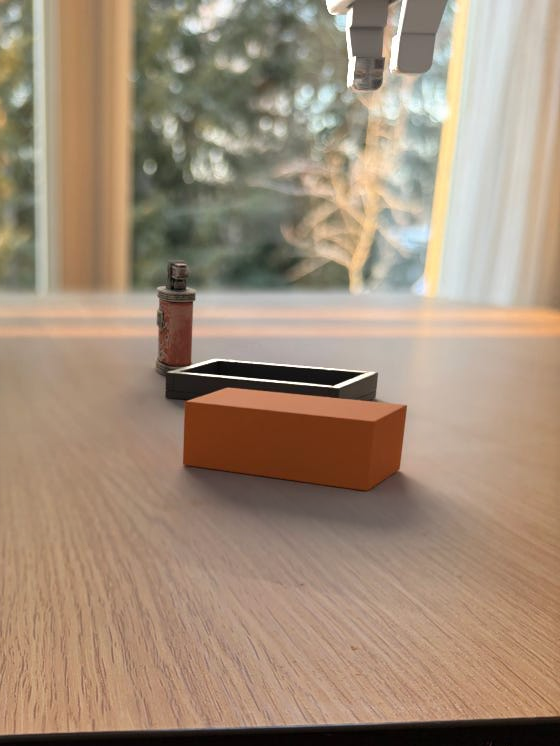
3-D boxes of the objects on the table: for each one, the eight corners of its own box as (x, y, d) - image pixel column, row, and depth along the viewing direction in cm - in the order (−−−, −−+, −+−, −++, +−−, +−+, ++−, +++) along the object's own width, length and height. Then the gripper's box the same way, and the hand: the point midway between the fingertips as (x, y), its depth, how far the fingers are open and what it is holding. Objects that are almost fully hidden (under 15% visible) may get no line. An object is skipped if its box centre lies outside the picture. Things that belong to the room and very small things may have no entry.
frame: (375, 397, 88) (378, 372, 87) (336, 415, 81) (339, 388, 80) (213, 382, 96) (214, 358, 95) (164, 397, 89) (165, 372, 88)
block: (399, 469, 65) (407, 404, 64) (367, 491, 61) (374, 421, 59) (224, 447, 71) (227, 387, 70) (182, 465, 67) (184, 401, 65)
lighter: (151, 364, 106) (153, 258, 102) (184, 363, 106) (187, 258, 102) (162, 377, 99) (165, 263, 95) (198, 376, 99) (202, 263, 95)
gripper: (568, -311, 44) (511, 62, 50) (421, -159, 63) (391, 100, 68) (418, -314, 44) (377, 60, 49) (315, -161, 63) (294, 98, 68)
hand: (385, 84), depth 59 cm, fingers open, 8 cm apart
